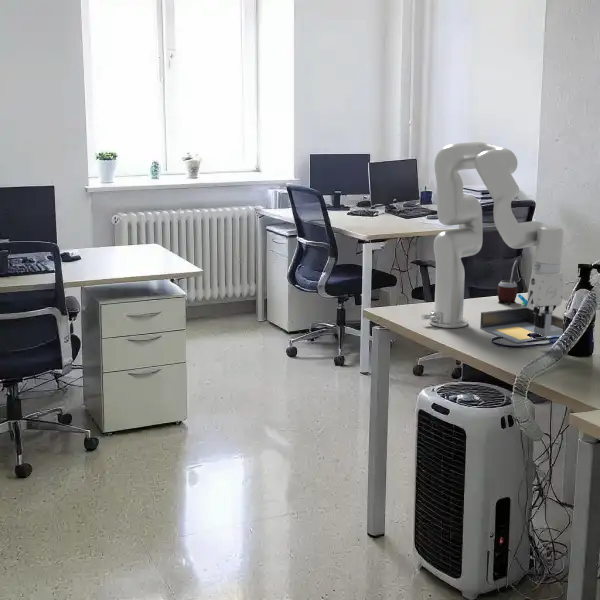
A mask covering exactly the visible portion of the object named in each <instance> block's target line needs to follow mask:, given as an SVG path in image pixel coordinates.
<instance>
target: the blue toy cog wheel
mask: <svg viewBox="0 0 600 600" xmlns="http://www.w3.org/2000/svg"><path fill="white" fill-rule="evenodd" d="M517 297H518V298H519V299H520V300H521V301H522V304H521V307H526V306H527V304H528V299H526V298H525V297H524V296H523V295H522V294H521V293H520V294H517Z"/></svg>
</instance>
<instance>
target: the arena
mask: <svg viewBox="0 0 600 600" xmlns="http://www.w3.org/2000/svg"><path fill="white" fill-rule="evenodd" d="M564 319H565V318H562V317H560V316H557V315H554V314H552V316H551V325H553V326H556V327H558V328H561V329H563V320H564ZM534 325H535V314H534V312H533V311H532V310H531V309H528V308H527V307H522V306H521V307H514V308H506V309H499V310H498V309H497V310H492V311H491V310H490V311H483V312H480V327H479V328H480V329H481V330H483V331H485V332H488V333H490V334H492V335H495V336H497V337H500V338H502V337H503V338H502V339H504V338H505V339H504V340H506V339H507V341H509V342H512V343H514V344H516V343H518V344H524V343H523V342H525V343H528V342H527V341H531V340H536V339H531V338H530V337H529V336H527V334H529V333H532V332H534Z"/></svg>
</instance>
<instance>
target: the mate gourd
mask: <svg viewBox="0 0 600 600" xmlns="http://www.w3.org/2000/svg"><path fill="white" fill-rule="evenodd" d="M517 261H518V260H515V261H514V263H513V266H512V268H511V273H510V274H511V275H510V279H509V280H508V279H504V280H501V281H499V283H498V285H497V298H498V304H506V305H508V306H510V305H511V304H516V299H517V297H518V291H519V288H518V284H517V282H515V280H513V275H514V271H515V266H516V263H517Z"/></svg>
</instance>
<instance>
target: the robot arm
mask: <svg viewBox="0 0 600 600" xmlns="http://www.w3.org/2000/svg"><path fill="white" fill-rule="evenodd" d="M517 168H518V157H517V156H516V155H515V153H514V151H512V150H511V149H509V148H506V147H502V146H497V145H493V144H490V143H486V142H482V141H481V142H479V141H475V142H474V141H473V142H457V143H451V144H447V145H445V146H443V147H442V148H440V149H439V151H438V152H437V154H436V156H435V159H434V174H435V180H436V181H435V182H436V211H437V213H436V215H437V218H438V222H439V223H440V224H441V225H443V226H446V227H450V226H453V227H454V226H458V228H454V229H448V230H444V231H441V232H440V233H438V234H437V235H436V237H435V238H434V241H433V254H434V257H435V258H434V260H435V283H434V284H435V285H434V286H435V287H434V290H435V291H434V309H431V312H429V313H423V314H421V320H423V321H427V320H429V324H430V325H431V326H434V327H437V328H438V327H439V328H446V329H457V328H463V327H466V326H467V325H468V319H466V318H464V305H465V304H464V300H465V299H464V298H465V297H464V296H465V276H466V275H465V273H466V272H465V267H464V264H463V261H462V258H465V257H466V258H467V257H470V256H475V255H476V254H478V253H479V252H480V251H481V249H482V246H483V241H484V240H483V209H482V206H481V203H480V201H479V200H478V198H477V197H475V196H473V195H472V194H471V195H470V194H464V182H463V178H462V177H461V174H460V173H459V171H462V170H476V172H477V173H478V175H479V177H480V179H481V181H482V182H483V184H484V186H485V188H486V189H487V192H488V193H489V195H490V196H491V197H490V198H492V201H493V210H492V212H493V215H492V216H493V222H494V226H495V228H496V230H497V232H498V233H499V236H500V237H501V238H502V241H503V242H504V243H505V244H506V245H507V246H508V247H509V248H511V249H515V250H517V249H518V250H519V249H525V248H530V247H535V253H534V255H535V256H534V264H532V265H531V269H532V270H533V271H532V272H531V274H530V275H531V276H530V280H529V284H528V288H527V301H528V304H527V306H526V307H527V308H528V309H531V310H532V311H533V312H534V314H535V326H536V327H538V328H540V329H541V328H543V320H544V316H543V315H542V314H543V311H546V312H549V313H551V314H552V315H553V313H554V311H555V309H556V308H558V307H560V306H561V305H562V303H563V300H564V278H563V272H562V271H561V265H562V264H561V263H562V253H563V243H564V230H563V228H562V227H560V226H557V225H548V224H546V223H542V222H541V221H537V220H534V221H533V220H532V221H524V222H518V220H517V218H516V216H515V215H514V213H513V210H512V201H513V200H514V199H515V198H516V197H517V196H518V195H519V192H520V187H519V185H518V183H517V182H516V180H515V178H514V177H513V174H514V173H515V172H516V170H517Z"/></svg>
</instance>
